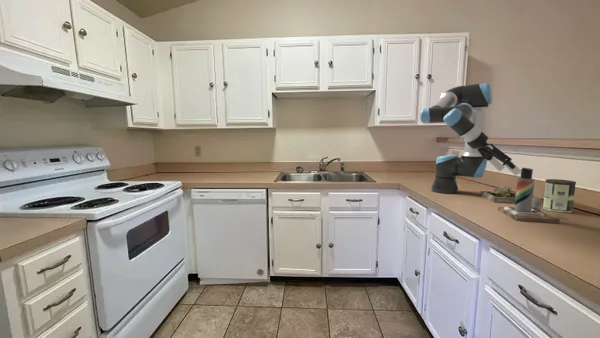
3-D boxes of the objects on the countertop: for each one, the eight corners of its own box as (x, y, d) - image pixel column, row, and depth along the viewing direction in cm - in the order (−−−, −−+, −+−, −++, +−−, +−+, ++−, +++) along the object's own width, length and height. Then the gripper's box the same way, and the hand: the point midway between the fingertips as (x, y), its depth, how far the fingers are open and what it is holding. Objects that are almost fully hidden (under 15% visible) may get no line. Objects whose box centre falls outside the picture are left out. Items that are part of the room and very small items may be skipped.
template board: (498, 210, 125) (499, 194, 124) (535, 212, 121) (536, 196, 120) (516, 220, 109) (518, 203, 108) (559, 223, 106) (562, 205, 105)
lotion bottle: (517, 209, 119) (521, 166, 117) (533, 212, 115) (538, 168, 112) (512, 211, 116) (516, 167, 114) (528, 215, 112) (533, 169, 109)
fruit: (507, 199, 150) (512, 186, 147) (508, 204, 142) (514, 191, 140) (488, 194, 155) (492, 182, 152) (488, 199, 147) (493, 186, 145)
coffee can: (561, 207, 129) (564, 179, 127) (578, 213, 119) (582, 183, 117) (537, 206, 131) (540, 178, 129) (552, 212, 121) (555, 182, 119)
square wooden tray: (480, 195, 156) (480, 191, 155) (513, 196, 152) (513, 192, 151) (493, 202, 139) (494, 197, 139) (531, 203, 135) (531, 199, 135)
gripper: (457, 142, 129) (489, 172, 128) (478, 144, 105) (518, 181, 104) (470, 131, 127) (502, 162, 126) (494, 130, 103) (535, 169, 102)
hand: (509, 171), depth 115 cm, fingers open, 13 cm apart
